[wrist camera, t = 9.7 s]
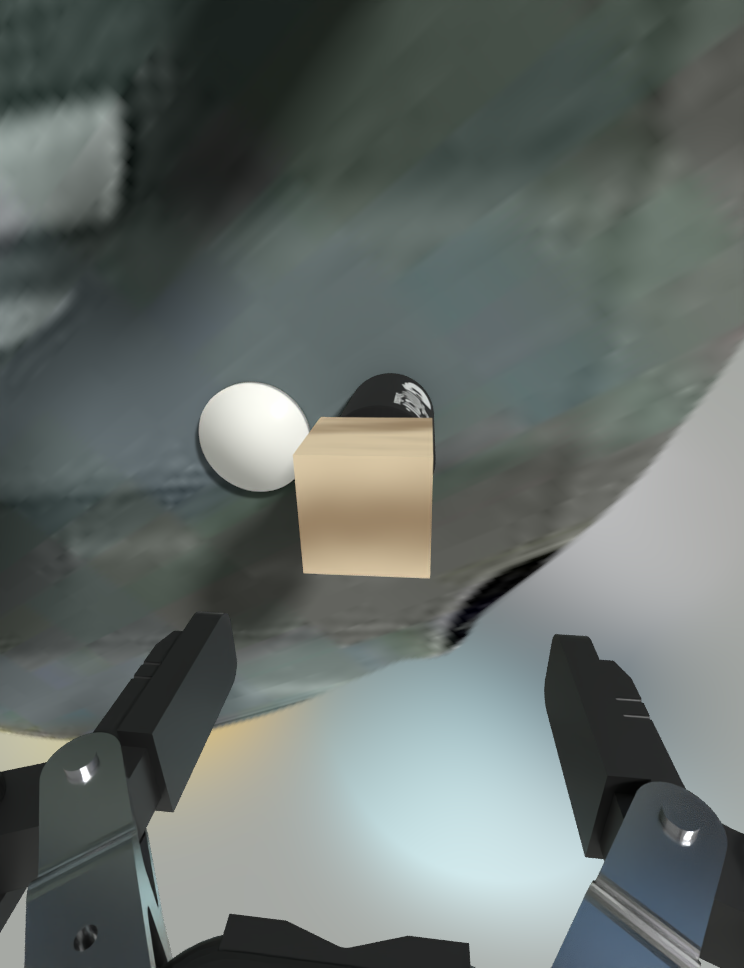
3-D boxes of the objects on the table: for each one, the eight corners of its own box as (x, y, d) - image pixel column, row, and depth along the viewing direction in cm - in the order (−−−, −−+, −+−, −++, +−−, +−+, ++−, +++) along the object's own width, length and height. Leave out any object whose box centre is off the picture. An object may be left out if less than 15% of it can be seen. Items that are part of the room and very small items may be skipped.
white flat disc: (195, 381, 39) (190, 384, 38) (307, 381, 38) (304, 384, 37) (212, 485, 43) (207, 490, 42) (314, 488, 42) (312, 492, 41)
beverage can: (451, 412, 38) (460, 469, 27) (392, 469, 40) (379, 542, 29) (389, 352, 37) (372, 387, 26) (332, 414, 39) (295, 470, 28)
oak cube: (320, 417, 27) (292, 454, 21) (432, 417, 26) (433, 456, 21) (327, 516, 29) (303, 573, 24) (429, 519, 28) (429, 578, 23)
